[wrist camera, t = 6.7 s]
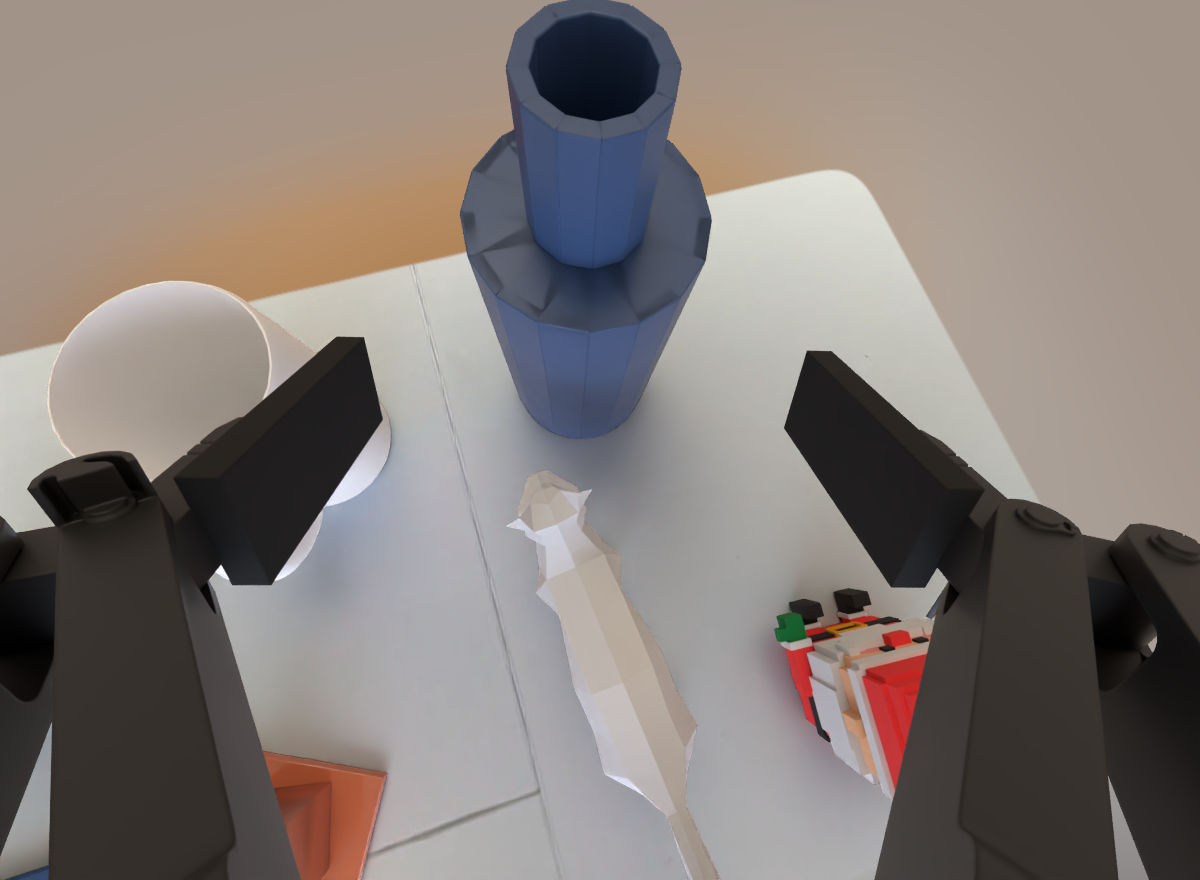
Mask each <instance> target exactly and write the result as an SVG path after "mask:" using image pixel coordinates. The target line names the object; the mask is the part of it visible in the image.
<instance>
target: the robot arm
mask: <svg viewBox="0 0 1200 880" xmlns="http://www.w3.org/2000/svg"><path fill="white" fill-rule="evenodd" d="M382 420H383V417H382V413H381V408H380V404H379V400H378V396H377V391H376V387H375V383H374V379H373V374H372V370H371V366H370V362H369V357H368V353H367V349H366V344H365V340H364V337H336V338H334V339H333V340H332V341H331V342H330V343H329V344H327V345H326V346H325V347H324V348H323V349H322V350H321V351H319V352H318V353H317V354H316V355H315V356H314V357H312V358H311V359H310V360H309V361H308V362H307V363H305V364H304V365H303V366H302V367H301V368H300V369H298V370H297V371H296V372H295V373H294V374H293V375H291V376H290V377H289V378H288V379H287V380H286V381H285V382H283V383H282V384H281V385H280V386H279V387H278V388H276V389H275V390H274V391H273V392H272V393H271V394H269V395H268V396H267V397H266V398H265V399H264V400H262V401H261V402H260V403H259V404H258V405H257V406H255V407H254V408H253V409H252V410H251V411H250V412H248V413H247V414H246V415H245V416H244V417H238V418H236V419H234V420H232V421H230V422H228V423H226V424H223V425H221V426H219V427H217V428H216V429H214V430H213V431H212V432H211V433H210V434H208V435H207V436H206V437H205V438H204V439H202V440H201V441H200V444H196V445H195V446H194V447H193V448H191V449H190V450H189V451H188V452H187V455H183V456H182V457H181V458H179V459H178V460H177V461H176V462H174V463H173V464H172V465H171V466H170V467H168V468H167V469H166V470H165V471H164V472H162V473H161V474H160V475H159V476H158V477H156V478H155V479H154V480H153V481H152V482H150V481H149V479H148V477H147V476H146V474H145V472H144V470H143V469H142V467H141V465H140V464H139V462H138V460H137V459H136V458H135V456H134V455H133V454H132V453H129V452H124V451H102V452H97V453H92V454H87V455H83V456H80V457H76V458H73V459H70V460H67V461H64V462H62V463H60V464H58V465H56V466H54V467H52V468H49V469H47V470H45V471H44V472H43V473H41V474H40V475H39V476H37V477H36V478H34V479H33V480H32V482H31V483H30V485H29V487H28V488H27V490H28V491H29V492H30V493H31V495H32V496H33V497H34V499H35V500H36V501H37V502H38V504H39V505H40V506H41V508H42V509H43V510H44V511H45V513H46V514H47V515H48V517H49V518H50V519H51V521H52V522H53V523H54V524H55V526H54V527H48V528H42V529H37V530H31V531H25V532H19V533H16V532H15V531H14V530H13V529H12V528H11V527H10V525H9V524H8V523H7V522H6V521H5V519H3V518H2V517H1V516H0V855H1V853H2V850H3V848H4V845H5V842H6V840H7V837H8V835H9V832H10V829H11V827H12V824H13V821H14V819H15V816H16V814H17V811H18V808H19V806H20V803H21V801H22V798H23V795H24V793H25V790H26V788H27V785H28V782H29V780H30V777H31V774H32V772H33V769H34V767H35V764H36V761H37V759H38V756H39V754H40V751H41V748H42V746H43V743H44V740H45V738H46V735H47V733H48V730H49V727H50V725H51V722H52V754H51V794H50V834H49V874H48V880H301V877H300V874H299V871H298V867H297V864H296V861H295V857H294V854H293V851H292V847H291V844H290V841H289V837H288V834H287V830H286V827H285V824H284V820H283V817H282V814H281V810H280V807H279V804H278V800H277V797H276V794H275V790H274V787H273V784H272V780H271V777H270V774H269V770H268V767H267V764H266V760H265V757H264V754H263V750H262V747H261V743H260V740H259V737H258V733H257V730H256V727H255V723H254V720H253V717H252V713H251V710H250V707H249V703H248V700H247V697H246V693H245V690H244V687H243V683H242V680H241V677H240V673H239V670H238V666H237V663H236V660H235V656H234V653H233V650H232V646H231V643H230V640H229V636H228V633H227V630H226V626H225V623H224V620H223V616H222V613H221V610H220V606H219V603H218V600H217V596H216V593H215V591H214V589H213V587H212V586H211V584H210V582H209V581H208V580H209V579H210V578H211V576H212V575H213V574H214V573H215V572H216V570H217V569H218V568H219V567H220V565H221V566H222V567H223V569H224V571H225V573H226V575H227V576H228V578H229V580H230V582H231V584H232V585H272V583H273V582H274V580H275V579H276V577H277V576H278V574H279V573H280V571H281V570H282V568H283V567H284V565H285V564H286V563H287V561H288V560H289V558H290V557H291V555H292V554H293V552H294V551H295V549H296V548H297V546H298V545H299V543H300V542H301V540H302V539H303V537H304V536H305V534H306V533H307V531H308V530H309V528H310V527H311V526H312V524H313V523H314V521H315V520H316V518H317V517H318V515H319V514H320V512H321V511H322V509H323V508H324V506H325V505H326V503H327V502H328V500H329V499H330V497H331V496H332V494H333V493H334V491H335V490H336V488H337V487H338V486H339V484H340V483H341V481H342V480H343V478H344V477H345V475H346V474H347V472H348V471H349V469H350V468H351V466H352V465H353V463H354V462H355V460H356V459H357V457H358V456H359V454H360V453H361V451H362V450H363V449H364V447H365V446H366V444H367V443H368V441H369V440H370V438H371V437H372V435H373V434H374V432H375V431H376V429H377V428H378V426H379V425H380V423H381V422H382ZM784 429H785V430H786V432H787V433H788V435H789V436H790V438H791V439H792V441H793V442H794V444H795V445H796V447H797V448H798V450H799V451H800V453H801V454H802V456H803V457H804V458H805V460H806V461H807V463H808V464H809V466H810V467H811V469H812V470H813V472H814V473H815V475H816V476H817V478H818V479H819V481H820V482H821V484H822V485H823V487H824V488H825V490H826V491H827V493H828V494H829V496H830V497H831V499H832V500H833V502H834V503H835V505H836V506H837V508H838V509H839V511H840V512H841V514H842V515H843V517H844V518H845V519H846V521H847V522H848V524H849V525H850V527H851V528H852V530H853V531H854V533H855V534H856V536H857V537H858V539H859V540H860V542H861V543H862V545H863V546H864V548H865V549H866V551H867V552H868V554H869V555H870V557H871V558H872V560H873V561H874V563H875V564H876V566H877V567H878V569H879V570H880V572H881V573H882V575H883V576H884V578H885V579H886V581H887V582H888V583H889V585H890V586H891V587H903V588H925V587H926V585H927V583H928V582H929V580H930V578H931V577H932V575H933V574H934V572H935V570H936V569H937V568H938V569H939V570H940V571H941V572H942V574H943V575H944V576H945V577H946V579H947V580H948V581H949V582H948V583H947V585H946V586H945V588H944V589H943V591H942V593H941V594H940V596H939V597H938V599H937V600H936V602H935V603H934V605H933V606H932V608H931V609H930V611H929V612H928V614H927V616H926V617H928V618H930V619H932V618H933V617H934V616H935V615H936V616H935V621H934V625H933V629H932V634H931V638H930V642H929V647H928V651H927V655H926V660H925V664H924V668H923V672H922V677H921V681H920V685H919V690H918V694H917V698H916V703H915V707H914V711H913V716H912V720H911V724H910V729H909V733H908V737H907V742H906V746H905V750H904V755H903V759H902V763H901V767H900V772H899V776H898V780H897V785H896V789H895V793H894V798H893V802H892V806H891V811H890V815H889V819H888V824H887V828H886V832H885V837H884V841H883V845H882V850H881V854H880V858H879V862H878V867H877V871H876V876H875V880H1118V871H1117V861H1116V852H1115V841H1114V831H1113V822H1112V813H1111V803H1110V793H1109V784H1108V776H1109V779H1110V781H1111V784H1112V786H1113V789H1114V791H1115V794H1116V797H1117V799H1118V802H1119V804H1120V807H1121V809H1122V812H1123V814H1124V817H1125V819H1126V822H1127V825H1128V827H1129V830H1130V832H1131V835H1132V837H1133V840H1134V842H1135V845H1136V848H1137V850H1138V853H1139V855H1140V858H1141V860H1142V863H1143V865H1144V868H1145V870H1146V873H1147V876H1148V878H1149V880H1200V544H1198V543H1197V541H1196V540H1194V539H1192V538H1190V537H1188V536H1186V535H1185V536H1183V534H1181V533H1179V532H1176V531H1174V530H1167V529H1164V528H1161V527H1158V526H1153V525H1147V524H1130V525H1129V526H1128V527H1127V528H1126V529H1125V530H1124V532H1123V533H1122V534H1121V535H1120V536H1119V537H1118V538H1117V539H1116V540H1115V541H1110V540H1105V539H1101V538H1096V537H1091V536H1086V535H1082V534H1081V532H1080V530H1079V528H1078V527H1077V526H1075V524H1073V523H1072V522H1071V521H1070V520H1069V519H1067V518H1066V517H1064V516H1063V515H1061V514H1059V513H1058V512H1056V511H1054V510H1052V509H1050V508H1047V507H1045V506H1043V505H1040V504H1037V503H1034V502H1030V501H1026V500H1020V499H1007V498H1006V497H1005V496H1004V495H1002V494H1001V493H1000V492H999V491H998V490H997V489H996V488H994V487H993V486H992V485H991V484H990V483H989V482H988V481H986V480H985V479H984V478H983V477H982V476H981V475H980V474H978V473H977V472H976V471H975V470H974V469H973V468H972V467H968V464H967V463H966V462H965V461H964V460H962V459H961V458H960V457H959V456H956V453H954V452H953V451H952V450H951V449H950V448H949V447H948V446H946V445H945V444H944V443H943V442H942V441H940V440H938V439H937V438H935V437H933V436H931V435H929V434H927V433H926V432H924V431H922V430H919V429H917V428H916V427H915V426H914V425H913V424H912V423H911V422H910V421H909V420H907V419H906V418H905V417H904V416H903V415H902V414H901V413H900V412H899V411H897V410H896V409H895V408H894V407H893V406H892V405H891V404H890V403H889V402H887V401H886V400H885V399H884V398H883V397H882V396H881V395H880V394H879V393H877V392H876V391H875V390H874V389H873V388H872V387H871V386H870V385H868V384H867V383H866V382H865V381H864V380H863V379H862V378H861V377H860V376H858V375H857V374H856V373H855V372H854V371H853V370H852V369H851V368H850V367H848V366H847V365H846V364H845V363H844V362H843V361H842V360H841V359H840V358H838V357H837V356H836V355H835V354H834V353H833V352H832V351H807V353H806V356H805V359H804V363H803V366H802V369H801V373H800V376H799V379H798V383H797V386H796V389H795V393H794V396H793V399H792V403H791V406H790V410H789V413H788V416H787V420H786V423H785V426H784ZM1156 636H1157V644H1156V647H1155V650H1154V652H1153V653H1152V651H1151V650H1150V648H1149V646H1148V643H1150V641H1152V640H1153V639H1154V638H1155V637H1156Z"/></svg>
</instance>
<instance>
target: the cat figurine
mask: <svg viewBox="0 0 1200 880" xmlns="http://www.w3.org/2000/svg"><path fill="white" fill-rule="evenodd" d="M591 490H592V489H590V490H587V491H583V492H579V491H578V489H577V487H576V486H574V485H573V484H571V483H569V482H567V481H565V480H564V479H562V478H560V477H558V476H556V475H555V474H553V473H551V472H549V471H547V470H544V471H540V472H537V473H535V474H533V475H531V476H529V477H527V479H526V483H525V486H524V490H523V493H522V497H521V500H520V504H519V507H518V510H517V513H518V516H519V519H517V520H515V521H514V522H512V523H510V524H509V525H507V527H512V528H516V529H521V530H524V533H525V535H526V536H527V537H529V538H530V539H532V540H534V541H536V542H537V545H536V552H537V558H538V564H539V570H540V572H539V578H538V584H537V591H536V594H537V595H538V596H539V597H540V598H541V599H542V600H543V601H544V602H545V603H546V604H547V605H548V606H549V607H551V608H552V609H553V610H554V611H555V612H556V613H557V614H558V615H559V618H560V623H561V628H562V633H563V637H564V642H565V647H566V652H567V657H568V662H569V667H570V672H571V677H572V682H573V687H574V690H575V692H576V694H577V696H578V699H579V701H580V703H581V705H582V707H583V710H584V712H585V714H586V716H587V719H588V721H589V723H590V725H591V728H592V730H593V733H594V736H595V740H596V744H597V748H598V752H599V756H600V759H601V763H602V767H603V771H604V774H605V775H607V776H609V777H611V778H613V779H614V780H616V781H618V782H620V783H622V784H624V785H625V786H627V787H629V788H631V789H633V790H635V791H636V792H638V793H640V794H642V795H643V796H644V797H645V798H647V799H648V800H649V801H650V802H651V803H652V804H653V805H654V806H655V807H657V808H658V809H659V810H660V811H661V812H662V813H663V814H664V815H665V816H666V817H667V819H668V822H669V825H670V828H671V830H672V833H673V836H674V839H675V842H676V845H677V848H678V850H679V853H680V856H681V859H682V862H683V865H684V868H685V870H686V873H687V876H688V879H689V880H720V877H719V875H718V873H717V870H716V868H715V866H714V864H713V862H712V860H711V857H710V855H709V853H708V851H707V849H706V847H705V845H704V843H703V840H702V838H701V836H700V834H699V832H698V830H697V828H696V826H695V823H694V821H693V819H692V817H691V815H690V813H689V811H688V809H687V806H686V798H687V772H688V768H689V763H690V758H691V754H692V749H693V745H694V740H695V735H696V731H697V726H698V725H697V724H696V722H695V720H694V719H693V717H692V715H691V713H690V712H689V710H688V708H687V707H686V705H685V703H684V701H683V700H682V698H681V696H680V695H679V693H678V691H677V690H676V687H675V685H674V682H673V679H672V677H671V674H670V672H669V669H668V666H667V664H666V661H665V659H664V656H663V653H662V651H661V648H660V646H659V644H658V643H657V641H656V640H655V638H654V637H653V635H652V634H651V632H650V630H649V629H648V627H647V626H646V624H645V623H644V621H643V620H642V618H641V617H640V615H639V614H638V612H637V611H636V609H635V608H634V606H633V605H632V603H631V601H630V600H629V598H628V597H627V595H626V594H625V592H624V591H623V589H622V588H621V554H619V553H618V552H617V551H615V550H614V549H612V548H611V547H610V546H608V545H607V544H606V543H604V542H603V541H602V539H601V538H600V537H599V536H598V534H597V533H596V532H595V531H594V529H593V528H592V527H591V526H590V525H589V524H588V523H586V522H585V521H584V519H585V515H586V511H587V508H586V506H585V504H584V503H585V501H586V499H587V497H588V496H589V494H590V492H591Z"/></svg>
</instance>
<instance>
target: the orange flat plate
mask: <svg viewBox="0 0 1200 880" xmlns="http://www.w3.org/2000/svg"><path fill="white" fill-rule="evenodd" d="M263 754H264V757H265V760H266V764H267V767H268V770H269V774H270V777H271V780H272V784H273V787H274V788H279V787H288V786H297V785H305V784H314V783H322V782H331V816H330V853H329V870H328V871H327V872H326V874H325V875H324V876H323V878H322V879H321V880H361V878H362V874H363V870H364V866H365V862H366V858H367V854H368V850H369V846H370V842H371V838H372V834H373V829H374V825H375V821H376V817H377V813H378V809H379V805H380V801H381V797H382V793H383V789H384V785H385V781H386V777H387V773H384V772H378V771H373V770H367V769H361V768H356V767H350V766H344V765H339V764H333V763H327V762H321V761H316V760H310V759H304V758H299V757H293V756H287V755H282V754H276V753H270V752H265V751H263Z"/></svg>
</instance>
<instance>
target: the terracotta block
mask: <svg viewBox="0 0 1200 880" xmlns="http://www.w3.org/2000/svg"><path fill="white" fill-rule="evenodd" d="M274 790H275V794H276V797H277V800H278V804H279V807H280V810H281V814H282V817H283V820H284V824H285V827H286V830H287V834H288V837H289V841H290V844H291V847H292V851H293V854H294V857H295V861H296V864H297V867H298V871H299V874H300V877H301V880H321V879H322V878H323V876H324V875H325V874H326V872H327V871H328V870H329V853H330V816H331V782H322V783H314V784H305V785H297V786H288V787H279V788H274Z"/></svg>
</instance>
